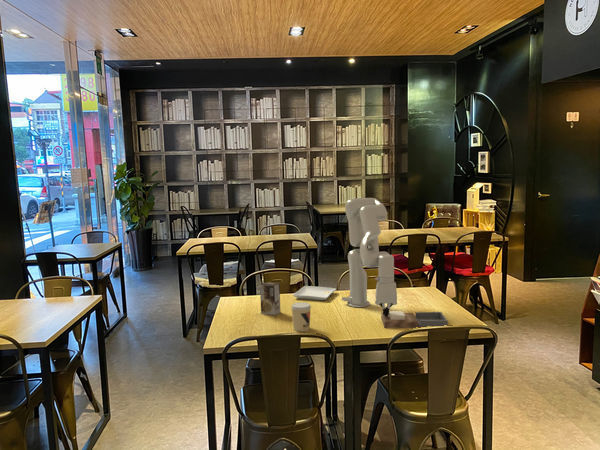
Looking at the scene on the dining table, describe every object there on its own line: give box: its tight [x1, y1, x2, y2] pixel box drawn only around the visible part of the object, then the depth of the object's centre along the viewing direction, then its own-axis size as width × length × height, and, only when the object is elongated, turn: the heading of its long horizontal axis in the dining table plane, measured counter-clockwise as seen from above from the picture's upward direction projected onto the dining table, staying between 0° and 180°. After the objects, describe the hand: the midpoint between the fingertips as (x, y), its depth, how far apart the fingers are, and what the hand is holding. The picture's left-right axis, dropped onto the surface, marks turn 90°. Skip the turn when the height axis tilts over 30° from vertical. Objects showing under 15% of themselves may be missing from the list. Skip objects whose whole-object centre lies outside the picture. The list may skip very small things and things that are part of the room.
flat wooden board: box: [380, 312, 419, 329], centre depth 236 cm, size 16×14×3 cm
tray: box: [414, 311, 449, 328], centre depth 235 cm, size 14×14×4 cm
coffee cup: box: [291, 301, 312, 332], centre depth 231 cm, size 9×9×12 cm
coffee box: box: [259, 281, 281, 316], centre depth 256 cm, size 9×6×16 cm
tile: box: [389, 310, 405, 320], centre depth 236 cm, size 7×7×2 cm
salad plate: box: [292, 285, 337, 301], centre depth 288 cm, size 21×21×3 cm
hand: (386, 315), depth 236 cm, fingers closed
